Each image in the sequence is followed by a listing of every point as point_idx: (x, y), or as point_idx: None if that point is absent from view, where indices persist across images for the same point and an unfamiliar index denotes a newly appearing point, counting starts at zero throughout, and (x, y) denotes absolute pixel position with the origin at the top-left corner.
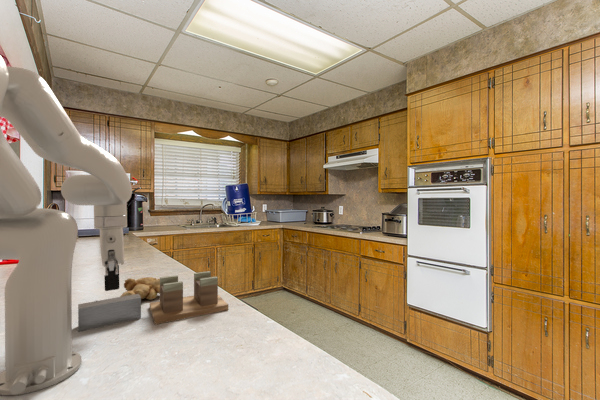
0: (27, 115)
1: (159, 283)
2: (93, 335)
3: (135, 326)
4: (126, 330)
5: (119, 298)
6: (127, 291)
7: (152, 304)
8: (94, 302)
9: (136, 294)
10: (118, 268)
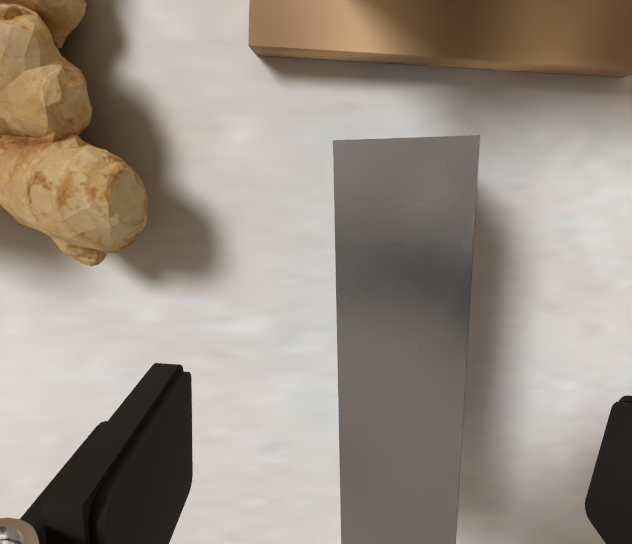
0: None
1: None
2: (525, 391)
3: (558, 192)
4: (583, 245)
5: (381, 306)
6: (64, 204)
7: (306, 31)
8: (367, 465)
9: (347, 161)
10: (119, 462)
